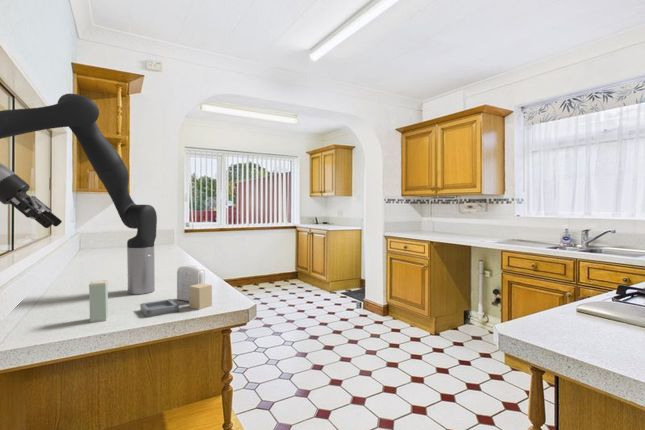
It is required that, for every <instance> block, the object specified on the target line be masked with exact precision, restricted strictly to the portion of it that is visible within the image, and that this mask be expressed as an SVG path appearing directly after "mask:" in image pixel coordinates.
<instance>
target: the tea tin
mask: <svg viewBox="0 0 645 430" xmlns="http://www.w3.org/2000/svg"><path fill="white" fill-rule="evenodd" d="M108 283H109V280H108V279H106V280H104V279H103V280H102V279H101V280H93V281H91V282H89V283H88V289H89V292H88V294H89V295H88V298H89V303H88V304H89V323H98V322H106V321H107V319H108V318H109V294H108V293H109V289H108V288H109V286H108Z"/></svg>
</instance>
